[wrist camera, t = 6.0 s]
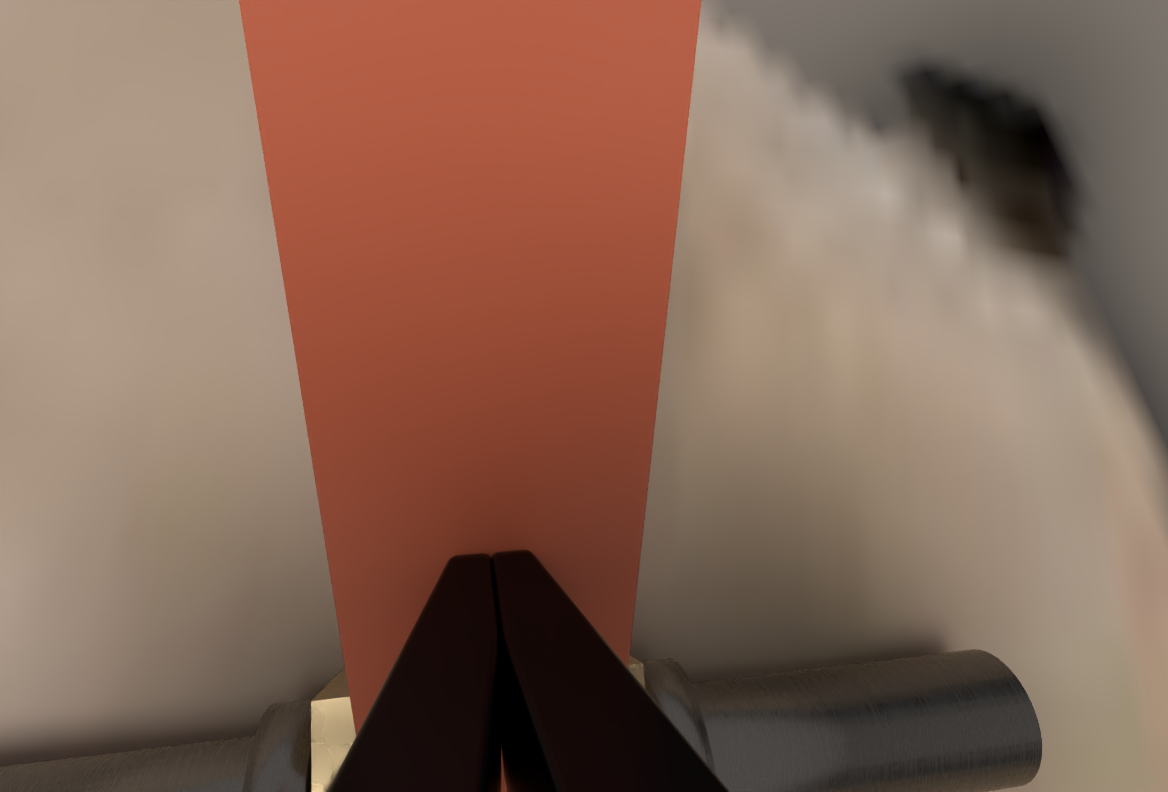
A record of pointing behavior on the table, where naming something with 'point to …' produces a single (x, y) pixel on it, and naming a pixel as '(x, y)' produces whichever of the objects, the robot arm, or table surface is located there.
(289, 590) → the table surface
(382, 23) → the lever
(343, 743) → the pipe valve
